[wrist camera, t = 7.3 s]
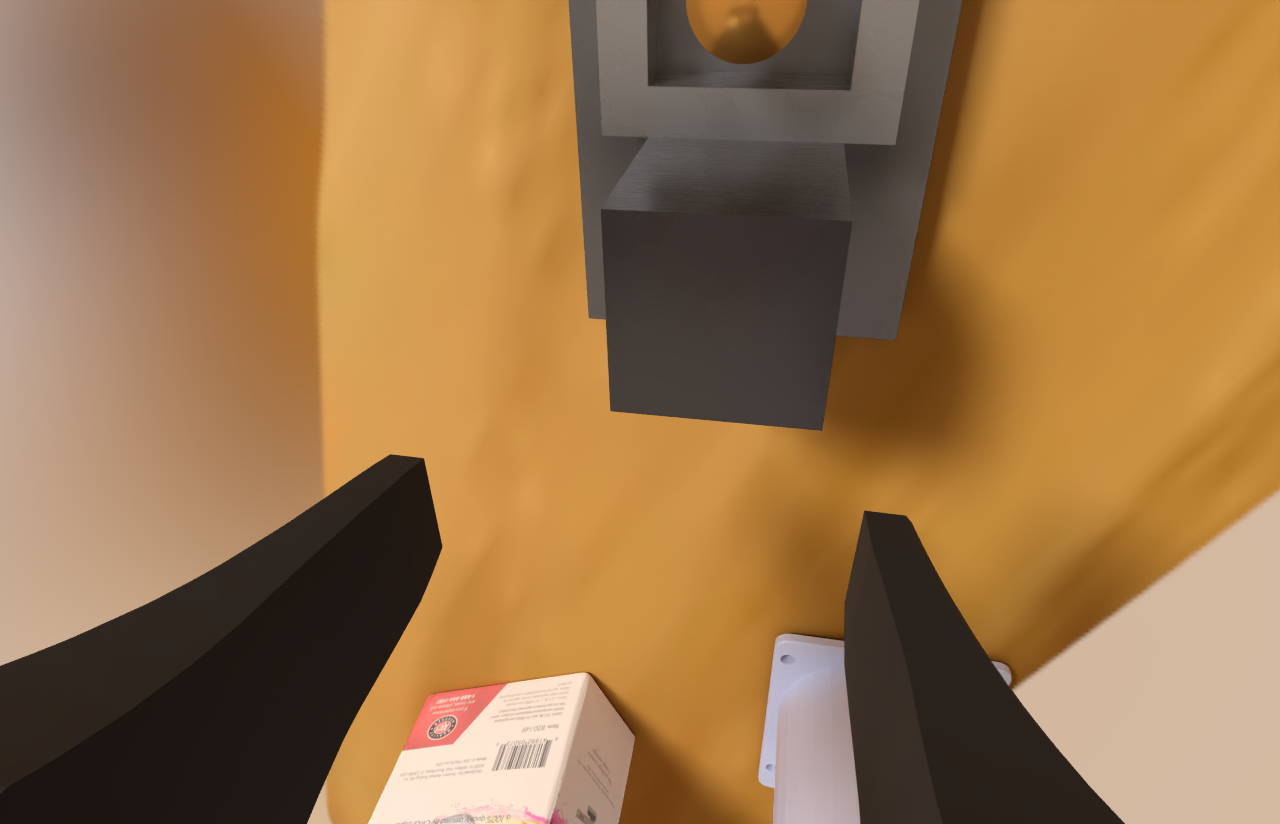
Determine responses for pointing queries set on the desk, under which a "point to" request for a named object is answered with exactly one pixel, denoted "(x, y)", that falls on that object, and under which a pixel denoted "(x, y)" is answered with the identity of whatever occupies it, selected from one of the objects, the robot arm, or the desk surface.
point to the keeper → (787, 43)
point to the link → (734, 218)
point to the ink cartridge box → (512, 757)
